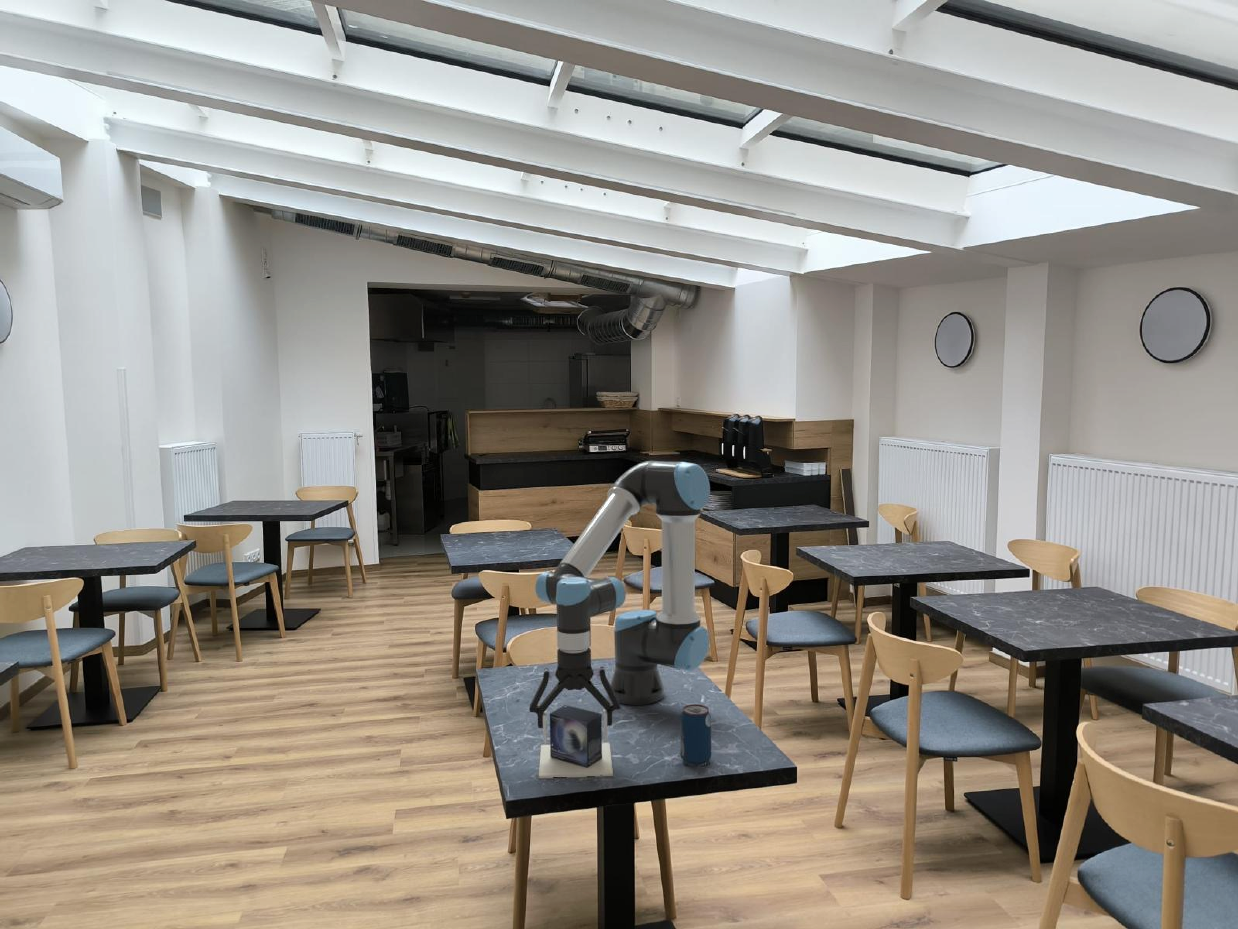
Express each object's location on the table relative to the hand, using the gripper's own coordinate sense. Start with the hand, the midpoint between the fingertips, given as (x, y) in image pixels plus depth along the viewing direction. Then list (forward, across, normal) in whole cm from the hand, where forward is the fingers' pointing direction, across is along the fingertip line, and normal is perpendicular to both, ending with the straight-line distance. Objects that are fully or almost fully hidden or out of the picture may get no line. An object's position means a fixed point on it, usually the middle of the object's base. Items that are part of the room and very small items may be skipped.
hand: (575, 740), depth 188 cm
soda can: (+5, -27, +2) cm, 28 cm away
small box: (+4, 0, 0) cm, 4 cm away
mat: (+5, 0, 0) cm, 5 cm away
